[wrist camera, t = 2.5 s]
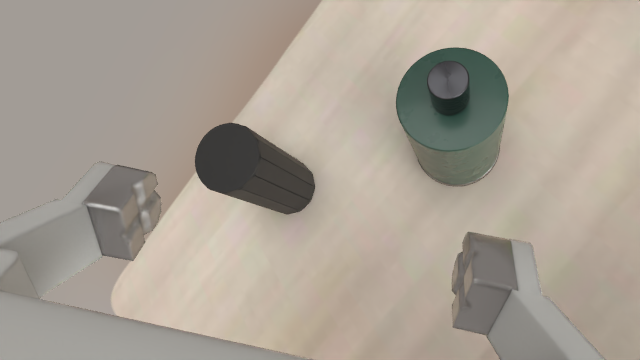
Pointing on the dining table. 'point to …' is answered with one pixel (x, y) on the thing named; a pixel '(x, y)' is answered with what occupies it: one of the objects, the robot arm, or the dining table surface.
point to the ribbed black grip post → (252, 169)
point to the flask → (454, 114)
